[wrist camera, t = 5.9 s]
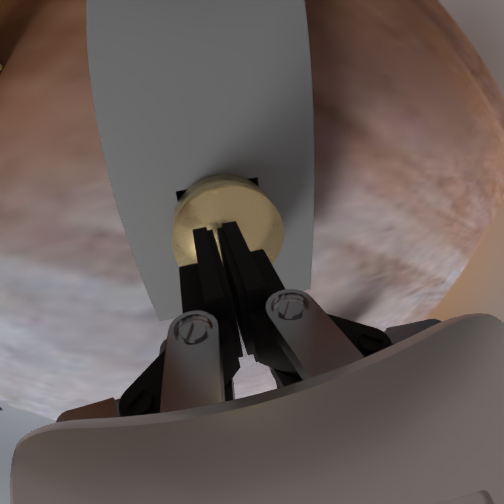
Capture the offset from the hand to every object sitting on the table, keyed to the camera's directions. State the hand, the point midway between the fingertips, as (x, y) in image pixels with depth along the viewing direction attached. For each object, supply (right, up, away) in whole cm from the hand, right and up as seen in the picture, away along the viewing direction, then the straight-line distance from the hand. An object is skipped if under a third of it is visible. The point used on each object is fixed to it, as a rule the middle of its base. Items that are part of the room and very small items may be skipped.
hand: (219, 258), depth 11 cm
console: (-2, +11, +4) cm, 12 cm away
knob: (-1, +4, +7) cm, 8 cm away
